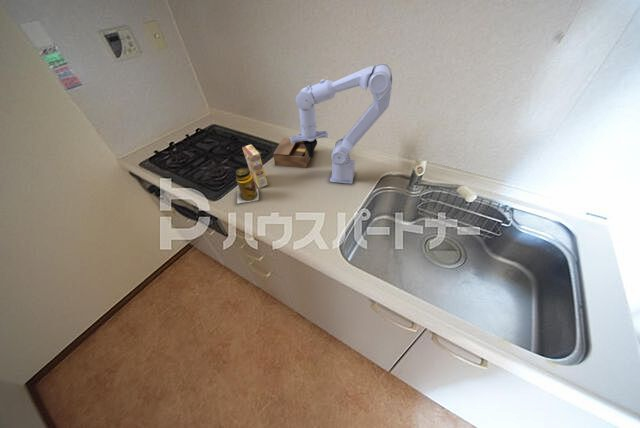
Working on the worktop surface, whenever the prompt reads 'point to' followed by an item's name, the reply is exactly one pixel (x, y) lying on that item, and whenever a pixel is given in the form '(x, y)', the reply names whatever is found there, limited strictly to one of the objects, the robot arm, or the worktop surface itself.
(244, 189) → the condiment
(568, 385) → the worktop surface
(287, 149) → the brown wooden square box
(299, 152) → the chocolate bar
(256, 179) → the candy box
